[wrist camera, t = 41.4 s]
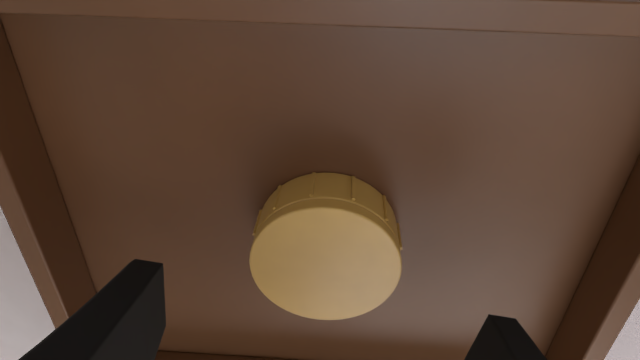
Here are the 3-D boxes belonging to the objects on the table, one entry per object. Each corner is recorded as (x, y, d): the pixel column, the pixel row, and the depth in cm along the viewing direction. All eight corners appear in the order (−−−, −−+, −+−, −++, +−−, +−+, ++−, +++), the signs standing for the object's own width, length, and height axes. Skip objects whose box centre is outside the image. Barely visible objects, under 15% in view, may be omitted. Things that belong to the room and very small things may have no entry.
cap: (234, 200, 12) (219, 237, 11) (364, 150, 11) (366, 185, 10) (298, 292, 14) (292, 334, 13) (416, 257, 13) (423, 299, 12)
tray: (109, 347, 17) (83, 394, 15) (-31, -38, 10) (-105, -25, 8) (543, 376, 16) (565, 428, 15) (731, -12, 9) (811, 8, 8)
